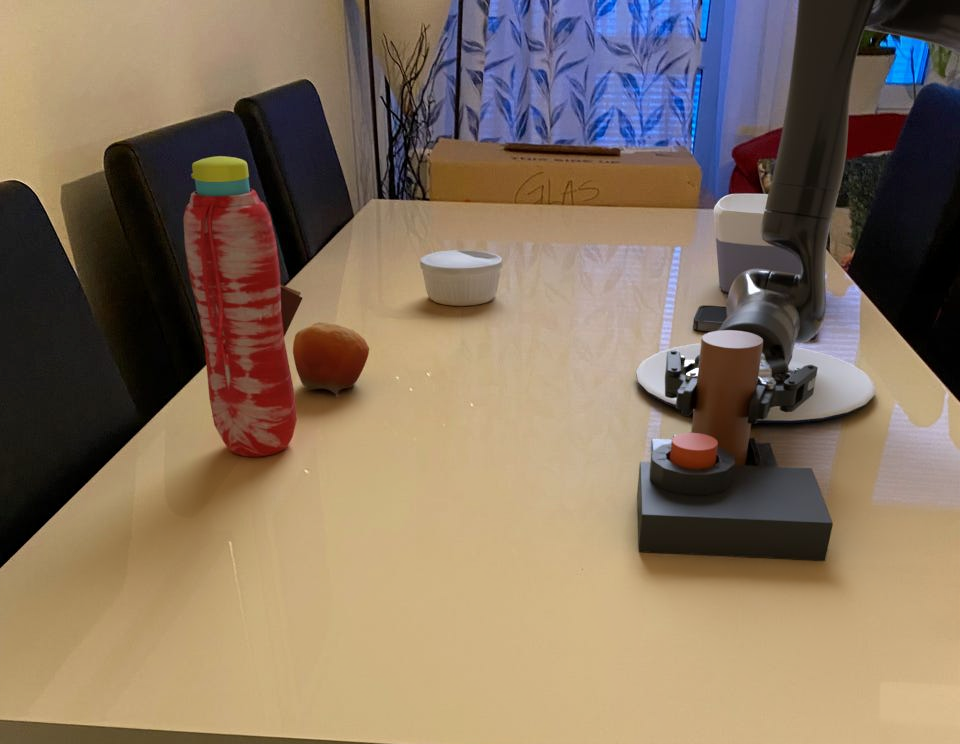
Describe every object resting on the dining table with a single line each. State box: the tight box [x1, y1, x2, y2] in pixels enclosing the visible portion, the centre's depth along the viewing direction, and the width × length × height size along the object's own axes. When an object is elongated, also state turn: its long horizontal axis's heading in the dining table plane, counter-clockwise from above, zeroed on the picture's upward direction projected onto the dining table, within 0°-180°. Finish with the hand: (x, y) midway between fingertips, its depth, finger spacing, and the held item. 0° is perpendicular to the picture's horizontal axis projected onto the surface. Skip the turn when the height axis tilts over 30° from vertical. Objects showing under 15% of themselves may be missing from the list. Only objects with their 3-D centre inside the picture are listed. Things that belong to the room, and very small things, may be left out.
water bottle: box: [183, 155, 303, 458], centre depth 88 cm, size 12×8×25 cm, turn 161°
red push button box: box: [636, 443, 834, 562], centre depth 78 cm, size 10×14×5 cm
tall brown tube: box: [690, 330, 763, 466], centre depth 85 cm, size 5×5×11 cm
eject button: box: [670, 432, 718, 469], centre depth 78 cm, size 4×4×2 cm
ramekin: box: [419, 249, 504, 307], centre depth 136 cm, size 11×11×5 cm
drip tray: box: [650, 434, 779, 467], centre depth 88 cm, size 11×11×2 cm
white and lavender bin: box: [712, 193, 801, 294], centre depth 138 cm, size 15×15×11 cm
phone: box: [692, 304, 818, 340], centre depth 125 cm, size 8×1×15 cm
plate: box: [635, 342, 876, 424], centre depth 106 cm, size 25×25×1 cm
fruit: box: [292, 322, 370, 399], centre depth 106 cm, size 8×8×8 cm
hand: (719, 408), depth 83 cm, fingers closed on tall brown tube, 5 cm apart
